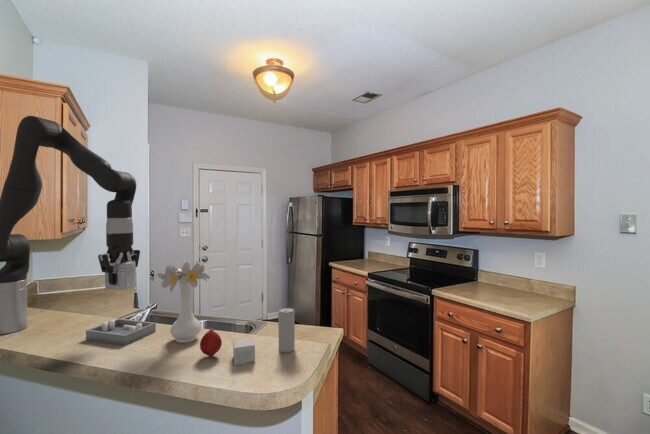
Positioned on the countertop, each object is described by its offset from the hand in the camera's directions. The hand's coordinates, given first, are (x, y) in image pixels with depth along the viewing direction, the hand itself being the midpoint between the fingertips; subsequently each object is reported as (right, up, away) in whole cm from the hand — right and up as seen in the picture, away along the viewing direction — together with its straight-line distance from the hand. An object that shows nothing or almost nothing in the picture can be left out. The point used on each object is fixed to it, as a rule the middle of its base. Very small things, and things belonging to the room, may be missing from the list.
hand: (120, 282), depth 107 cm
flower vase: (+22, -18, -3) cm, 29 cm away
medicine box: (0, -2, 0) cm, 2 cm away
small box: (+45, -18, -17) cm, 51 cm away
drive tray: (0, -18, +1) cm, 18 cm away
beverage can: (+56, -18, -10) cm, 60 cm away
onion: (+35, -18, -15) cm, 42 cm away
